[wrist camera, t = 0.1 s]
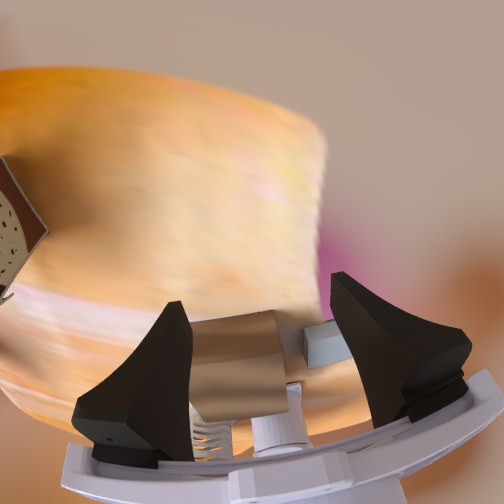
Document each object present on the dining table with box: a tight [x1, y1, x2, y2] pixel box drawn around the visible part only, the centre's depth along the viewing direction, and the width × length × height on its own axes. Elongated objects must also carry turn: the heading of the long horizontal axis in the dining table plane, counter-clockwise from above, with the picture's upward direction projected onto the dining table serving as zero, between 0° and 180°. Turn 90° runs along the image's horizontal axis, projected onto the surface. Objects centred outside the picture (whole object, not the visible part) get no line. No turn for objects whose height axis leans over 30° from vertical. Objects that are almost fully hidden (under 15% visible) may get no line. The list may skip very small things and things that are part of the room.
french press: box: [189, 407, 237, 461], centre depth 26 cm, size 10×12×25 cm
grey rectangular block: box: [304, 319, 353, 369], centre depth 29 cm, size 5×7×2 cm
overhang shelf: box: [189, 310, 289, 423], centre depth 27 cm, size 12×10×6 cm
